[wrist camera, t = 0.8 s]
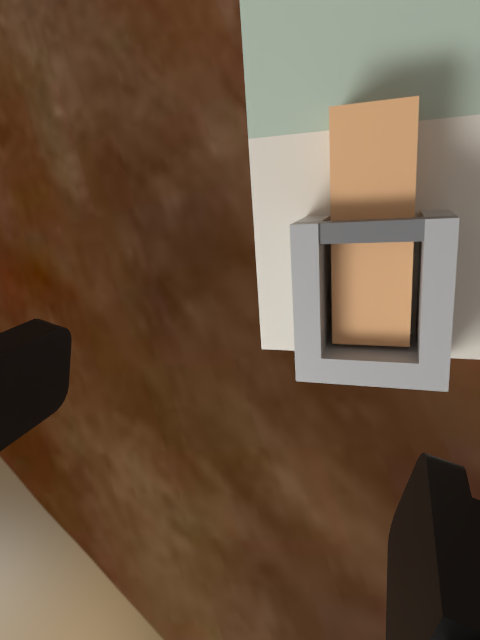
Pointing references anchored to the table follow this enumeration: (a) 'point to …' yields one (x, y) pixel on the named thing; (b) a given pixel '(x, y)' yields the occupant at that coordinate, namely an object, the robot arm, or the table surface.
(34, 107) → the table surface
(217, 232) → the table surface
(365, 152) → the tan wooden plank
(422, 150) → the two-tone mat
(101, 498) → the table surface
